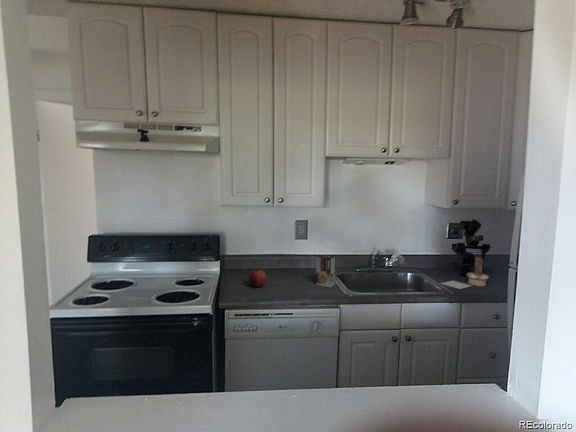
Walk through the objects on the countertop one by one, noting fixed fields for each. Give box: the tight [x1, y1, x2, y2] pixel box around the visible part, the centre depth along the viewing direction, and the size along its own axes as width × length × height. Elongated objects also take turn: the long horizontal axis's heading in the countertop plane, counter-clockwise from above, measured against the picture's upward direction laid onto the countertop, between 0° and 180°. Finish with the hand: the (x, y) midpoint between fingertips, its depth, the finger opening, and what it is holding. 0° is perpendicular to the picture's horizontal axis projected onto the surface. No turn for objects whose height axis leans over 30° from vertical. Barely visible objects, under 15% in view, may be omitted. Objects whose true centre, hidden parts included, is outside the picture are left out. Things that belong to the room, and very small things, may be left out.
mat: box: [440, 280, 472, 290], centre depth 220 cm, size 12×12×1 cm
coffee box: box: [315, 254, 336, 288], centre depth 214 cm, size 9×6×16 cm
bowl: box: [467, 277, 487, 287], centre depth 223 cm, size 9×9×4 cm
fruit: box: [248, 267, 267, 288], centre depth 209 cm, size 11×10×10 cm
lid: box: [467, 257, 490, 280], centre depth 222 cm, size 12×12×11 cm
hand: (475, 259), depth 226 cm, fingers open, 9 cm apart
